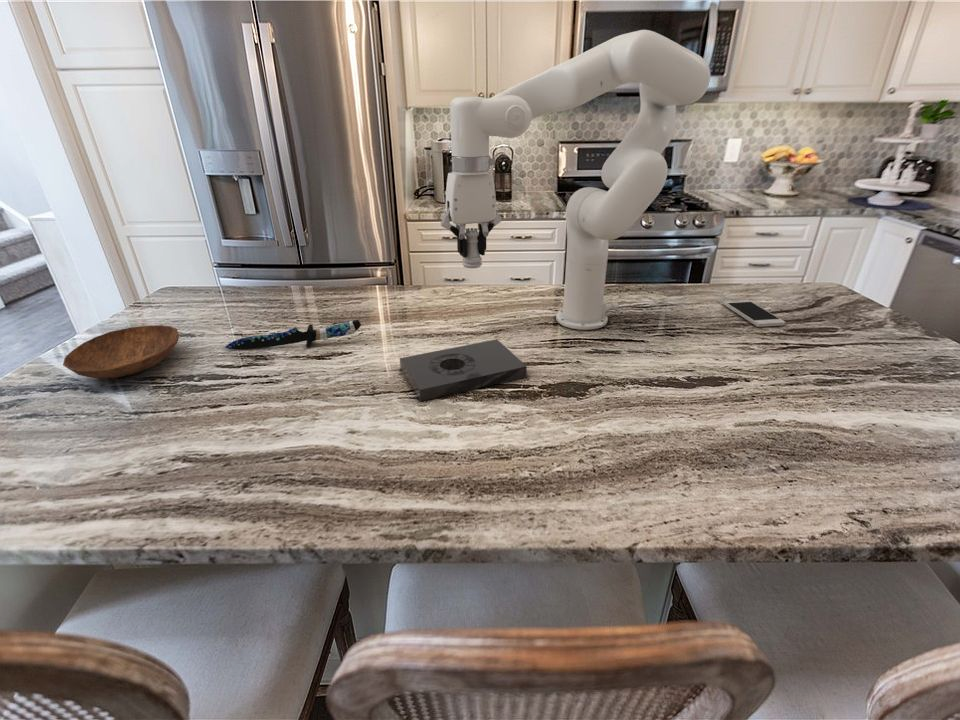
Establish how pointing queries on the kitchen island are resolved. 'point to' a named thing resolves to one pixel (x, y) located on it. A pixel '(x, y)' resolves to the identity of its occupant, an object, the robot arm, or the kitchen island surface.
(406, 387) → the kitchen island surface
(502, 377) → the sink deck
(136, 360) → the bowl
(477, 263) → the rook chess piece
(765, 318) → the smartphone
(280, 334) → the knife
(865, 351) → the kitchen island surface
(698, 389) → the kitchen island surface
